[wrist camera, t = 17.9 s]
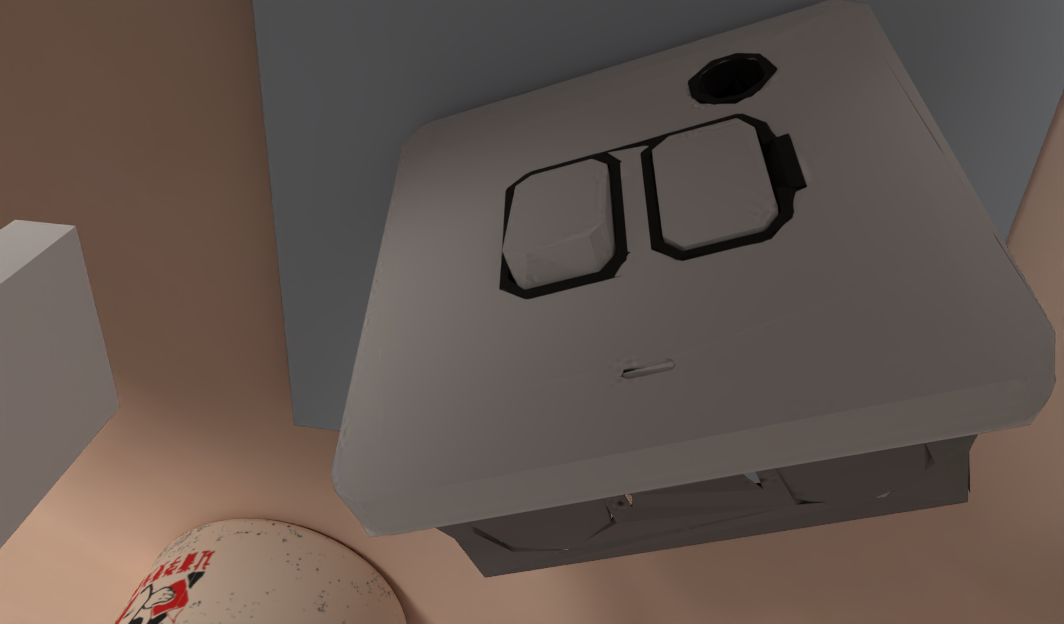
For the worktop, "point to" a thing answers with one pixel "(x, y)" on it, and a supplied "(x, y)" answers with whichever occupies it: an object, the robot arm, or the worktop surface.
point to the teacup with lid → (260, 580)
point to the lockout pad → (545, 59)
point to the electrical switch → (686, 307)
